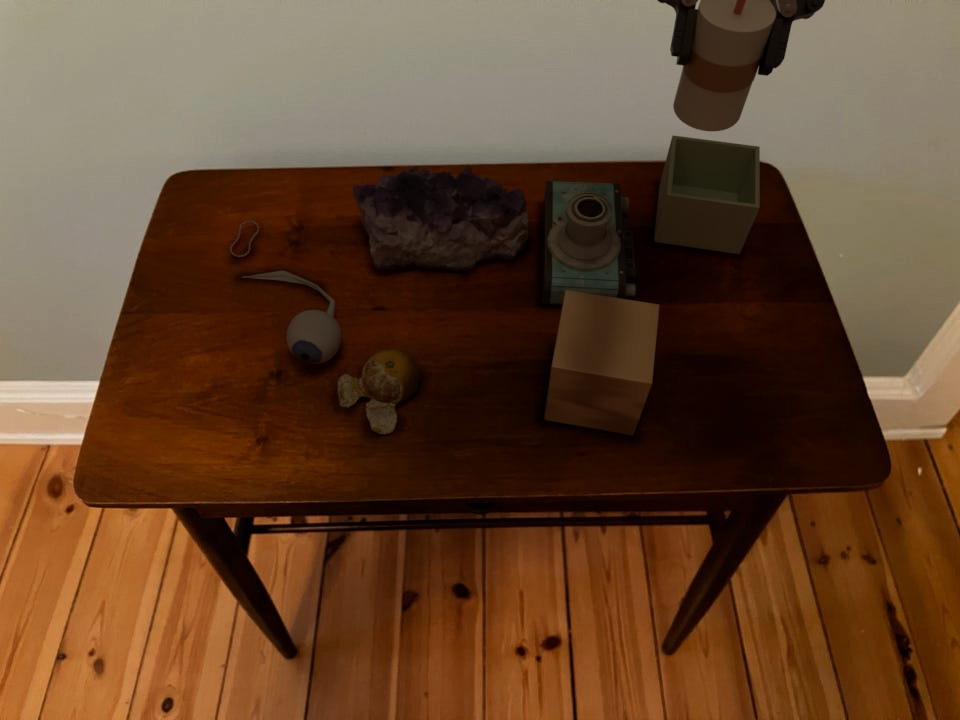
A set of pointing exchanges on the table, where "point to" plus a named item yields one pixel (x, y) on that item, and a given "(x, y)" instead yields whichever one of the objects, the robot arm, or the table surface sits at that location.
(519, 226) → the geode
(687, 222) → the bin
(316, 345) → the novelty item
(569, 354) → the stand
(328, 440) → the table surface
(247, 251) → the necklace
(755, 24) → the paper cup
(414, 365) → the fruit
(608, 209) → the camera
